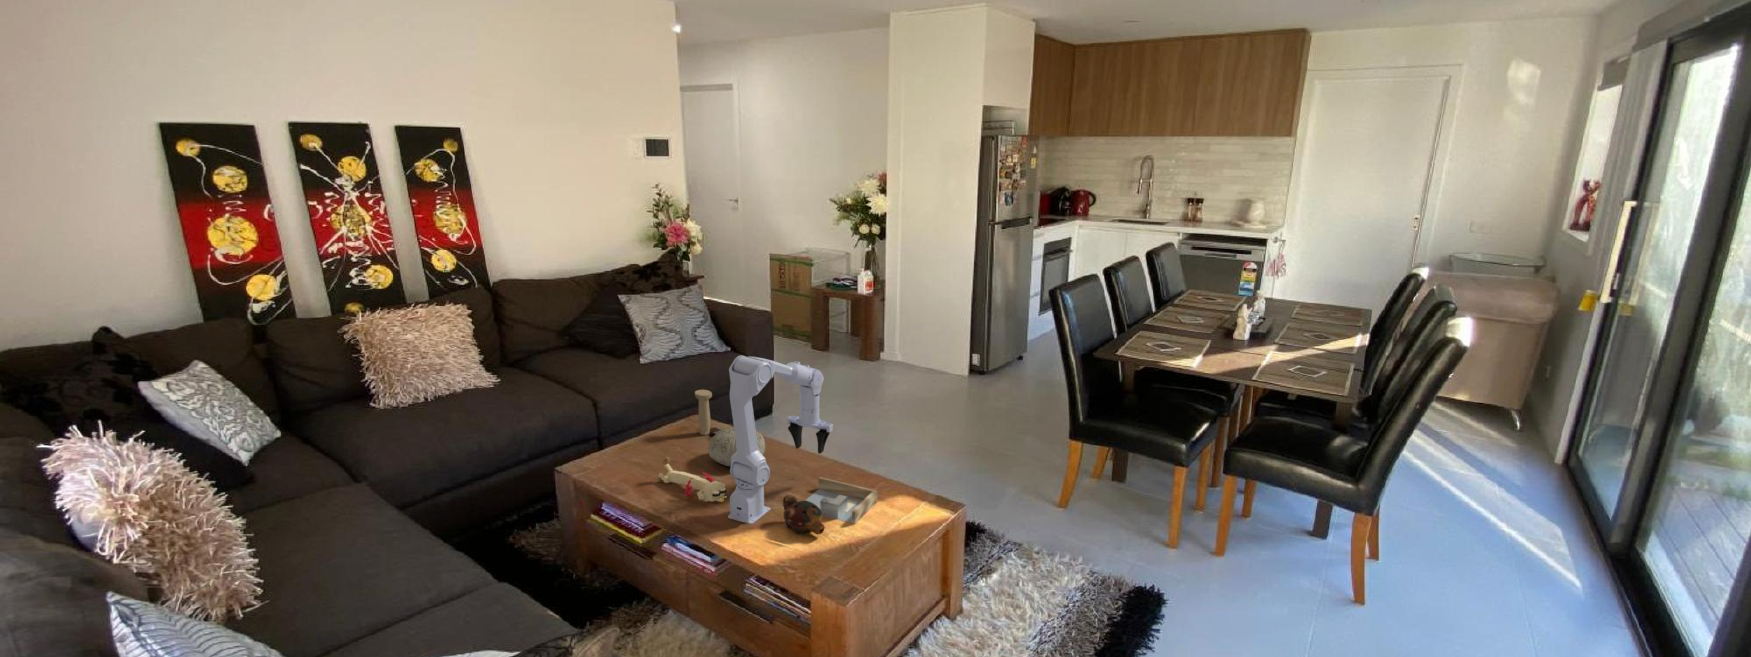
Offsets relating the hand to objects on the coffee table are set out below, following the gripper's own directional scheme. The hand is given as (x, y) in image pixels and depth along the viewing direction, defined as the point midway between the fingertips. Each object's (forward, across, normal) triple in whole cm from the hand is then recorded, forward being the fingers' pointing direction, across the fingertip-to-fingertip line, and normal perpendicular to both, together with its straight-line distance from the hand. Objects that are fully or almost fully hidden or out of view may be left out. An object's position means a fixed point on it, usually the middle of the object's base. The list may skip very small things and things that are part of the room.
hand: (809, 449), depth 226 cm
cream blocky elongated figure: (+10, +26, +22) cm, 36 cm away
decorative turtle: (+10, -13, +26) cm, 30 cm away
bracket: (+9, -16, +15) cm, 24 cm away
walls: (+10, -15, +11) cm, 21 cm away
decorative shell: (+10, +27, -2) cm, 29 cm away
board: (+10, -15, +11) cm, 21 cm away
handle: (+10, +49, -14) cm, 52 cm away
